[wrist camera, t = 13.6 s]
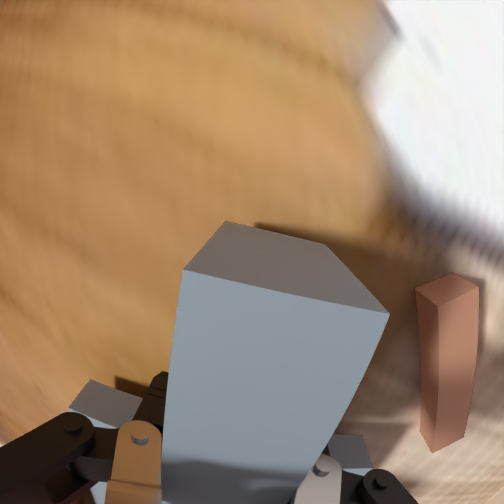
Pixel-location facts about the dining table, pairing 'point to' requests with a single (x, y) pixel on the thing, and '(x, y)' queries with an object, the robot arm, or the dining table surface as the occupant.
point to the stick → (446, 356)
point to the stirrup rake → (255, 370)
